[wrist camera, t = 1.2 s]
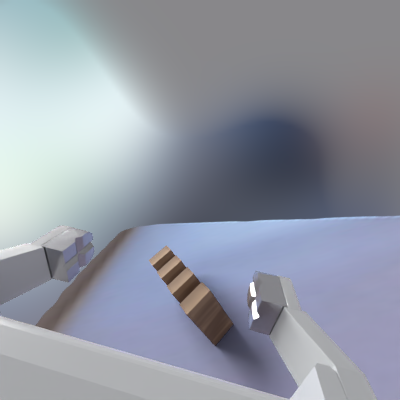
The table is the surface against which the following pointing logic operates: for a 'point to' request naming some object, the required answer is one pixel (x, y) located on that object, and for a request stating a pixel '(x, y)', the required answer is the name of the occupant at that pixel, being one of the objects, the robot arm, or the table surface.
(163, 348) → the table surface
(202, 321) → the domino
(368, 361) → the table surface
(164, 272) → the domino
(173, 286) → the domino
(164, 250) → the domino
